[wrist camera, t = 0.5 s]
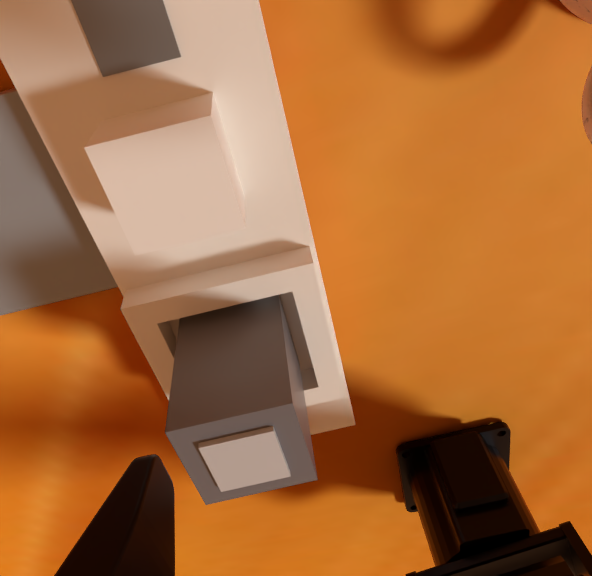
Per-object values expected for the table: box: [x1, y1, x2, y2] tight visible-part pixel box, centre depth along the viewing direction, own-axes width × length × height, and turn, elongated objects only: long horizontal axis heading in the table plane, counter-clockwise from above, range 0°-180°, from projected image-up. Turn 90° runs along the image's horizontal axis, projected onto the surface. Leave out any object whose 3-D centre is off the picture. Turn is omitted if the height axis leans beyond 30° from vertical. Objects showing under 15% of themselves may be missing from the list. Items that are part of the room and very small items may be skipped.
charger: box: [165, 295, 318, 505], centre depth 19 cm, size 4×4×6 cm
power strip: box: [0, 0, 356, 435], centre depth 17 cm, size 30×8×4 cm, turn 12°
